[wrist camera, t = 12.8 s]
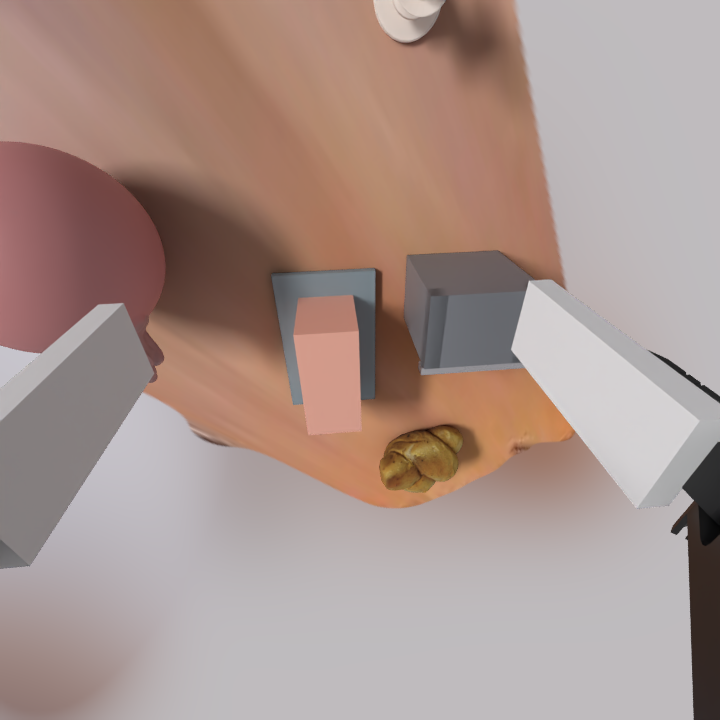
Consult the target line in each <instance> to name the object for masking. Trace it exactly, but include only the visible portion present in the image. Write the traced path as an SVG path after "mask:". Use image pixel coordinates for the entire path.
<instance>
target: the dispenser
mask: <svg viewBox="0 0 720 720" xmlns="http://www.w3.org/2000/svg"><path fill="white" fill-rule="evenodd" d="M533 280H534V279H533V278H532V277H531V276H529V275H528V274H527V273H526V272H524V271H523V270H522V269H521V268H519V267H518V266H517V265H516V264H514V263H513V262H512V261H511V260H509V259H508V258H507V257H505V256H504V255H503V254H502V253H500V252H499V251H479V252H459V253H439V254H419V255H407V264H406V283H405V301H404V320H405V322H406V325H407V327H408V330H409V332H410V335H411V337H412V340H413V343H414V345H415V348H416V350H417V353H418V355H419V358H420V360H421V361H419V365H418V369H419V371H420V374H421V375H431V374H445V373H459V372H474V371H488V370H503V369H517V368H525V367H524V365H523V364H522V363H521V362H520V360H519V359H518V358H517V357H516V355H515V354H514V353H513V352H512V350H511V348H512V344H513V340H514V336H515V333H516V329H517V325H518V321H519V317H520V313H521V310H522V306H523V302H524V298H525V294H526V290H527V287H528V283H529V281H533Z"/></svg>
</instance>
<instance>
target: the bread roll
mask: <svg viewBox="0 0 720 720" xmlns="http://www.w3.org/2000/svg"><path fill="white" fill-rule="evenodd" d="M462 444H463V437H462V435H461V434H460V432H459V431H458V430H457V429H455V428H453V427H449V426H437V427H434V428H431V429H429V430H427V431H413V432H409V433H406V434H402V435H400V436H399V437H397V438H396V439H394V440H393V441H391V442H390V443H389V444H388V446H387V448H386V450H385V452H384V457H383V458H382V459H381V461H380V466H379V469H380V475H381V480H382V482H383V484H384V485H385V487H386V488H387V489H389V490H401V489H403V490H405V491H408V492H415V493H418V492H422V493H425V492H426V491H428V490H429V489H430V488H431V487H432V486H433V485H434V483H435V482H436V481H439V482H445V481H447V480H449V479H450V478H451V477H453V476H454V475H455V473H456V471H457V469H458V458H457V455H456V454H457V453H458V452H459V450H460V449H461V447H462Z"/></svg>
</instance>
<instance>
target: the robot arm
mask: <svg viewBox="0 0 720 720" xmlns="http://www.w3.org/2000/svg"><path fill="white" fill-rule="evenodd" d="M511 350H512V352H513V353H514V354H515V355H516V357H517V358H518V359H519V360H520V362H521V363H522V364H523V365H524V367H525V368H526V369H527V370H528V372H529V373H530V374H531V376H532V377H533V378H534V379H535V381H536V382H537V383H538V384H539V386H540V387H541V388H542V389H543V391H544V392H545V393H546V395H547V396H548V397H549V398H550V400H551V401H552V402H553V403H554V405H555V406H556V407H557V408H558V410H559V411H560V412H561V414H562V415H563V416H564V417H565V419H566V420H567V421H568V422H569V424H570V425H571V426H572V427H573V429H574V430H575V431H576V432H577V434H578V435H579V436H580V438H581V439H582V440H583V441H584V443H585V444H586V445H587V446H588V448H589V449H590V450H591V451H592V453H593V454H594V455H595V457H596V458H597V459H598V460H599V462H600V463H601V464H602V465H603V467H604V468H605V469H606V470H607V472H608V473H609V474H610V476H611V477H612V478H613V479H614V481H615V482H616V483H617V484H618V486H619V487H620V488H621V489H622V491H623V492H624V493H625V494H626V496H627V497H628V498H629V500H630V501H631V502H632V503H633V505H634V506H635V507H636V508H637V509H640V508H650V507H661V506H669V505H670V504H671V502H672V501H673V500H674V499H675V497H676V496H677V495H678V494H679V492H680V491H681V490H682V489H684V490H685V491H686V492H687V493H688V495H689V496H690V497H691V498H692V499H693V500H694V502H693V503H692V504H691V505H690V506H689V507H688V509H687V510H686V511H685V512H684V513H683V515H682V516H681V517H680V518H679V519H678V520H677V521H676V523H675V524H674V525H673V527H672V530H671V533H673V534H676V535H677V534H678V533H679V532H680V530H681V529H682V528H683V527H685V526H688V536H687V537H686V539H687V540H688V556H689V587H690V617H691V648H692V679H693V708H694V720H720V396H718V395H717V394H716V393H714V392H713V391H712V390H710V389H709V388H707V387H706V386H705V385H702V386H701V384H700V382H699V381H698V380H696V379H695V378H693V377H692V376H691V375H686V372H685V371H684V370H682V369H681V368H680V367H678V366H677V365H675V364H674V363H672V362H671V361H670V360H668V359H666V358H664V357H662V356H660V355H657V354H655V353H653V352H651V351H649V350H647V349H645V348H644V347H642V346H641V345H640V344H638V343H637V342H636V341H634V340H633V339H631V338H630V337H629V336H627V335H626V334H625V333H623V332H622V331H621V330H619V329H618V328H617V327H615V326H614V325H612V324H611V323H610V322H608V321H607V320H606V319H604V318H603V317H601V316H600V315H599V314H597V313H596V312H595V311H593V310H592V309H591V308H589V307H588V306H587V305H585V304H584V303H583V302H581V301H580V300H578V299H577V298H576V297H574V296H573V295H572V294H570V293H569V292H568V291H566V290H565V289H563V288H562V287H561V286H559V285H558V284H557V283H555V282H554V281H553V280H533V281H529V283H528V287H527V290H526V294H525V298H524V302H523V306H522V310H521V313H520V317H519V321H518V325H517V329H516V333H515V336H514V340H513V344H512V348H511ZM153 375H154V371H153V369H152V367H151V365H150V362H149V360H148V358H147V355H146V353H145V351H144V349H143V346H142V344H141V342H140V339H139V337H138V335H137V332H136V330H135V328H134V326H133V323H132V321H131V319H130V316H129V314H128V312H127V310H126V307H125V305H124V303H117V304H99V305H97V306H96V307H95V308H94V309H93V310H91V311H90V312H89V313H88V314H87V315H86V316H84V317H83V318H82V319H81V320H80V321H79V322H77V323H76V324H75V325H74V326H73V327H72V328H70V329H69V330H68V331H67V332H66V333H65V334H63V335H62V336H61V337H60V338H59V339H58V340H56V341H55V342H54V343H53V344H52V345H51V346H49V347H48V348H47V349H46V350H45V351H44V352H42V353H41V354H40V355H39V356H38V357H37V358H35V359H34V360H33V361H32V362H31V363H30V364H28V365H27V366H26V367H25V368H24V369H23V370H21V371H20V372H19V373H18V374H17V375H16V376H14V377H13V378H12V379H11V380H10V381H9V382H7V383H6V384H5V385H4V386H3V387H2V388H0V569H3V568H13V567H24V566H30V565H31V564H32V562H33V561H34V559H35V558H36V556H37V554H38V553H39V551H40V550H41V548H42V547H43V545H44V543H45V542H46V540H47V539H48V537H49V536H50V534H51V533H52V531H53V529H54V528H55V527H56V525H57V523H58V522H59V520H60V519H61V517H62V516H63V514H64V512H65V511H66V510H67V508H68V506H69V505H70V503H71V502H72V500H73V499H74V497H75V496H76V494H77V492H78V491H79V489H80V488H81V486H82V485H83V483H84V482H85V480H86V478H87V477H88V475H89V474H90V472H91V471H92V469H93V468H94V466H95V465H96V463H97V461H98V460H99V458H100V457H101V455H102V454H103V452H104V451H105V449H106V448H107V446H108V444H109V443H110V441H111V440H112V438H113V437H114V435H115V434H116V432H117V430H118V429H119V427H120V426H121V424H122V422H123V421H124V420H125V418H126V417H127V415H128V413H129V412H130V410H131V409H132V407H133V406H134V404H135V402H136V401H137V399H138V398H139V396H140V395H141V393H142V392H143V390H144V389H145V387H146V386H147V384H148V382H149V381H150V379H151V378H152V376H153Z"/></svg>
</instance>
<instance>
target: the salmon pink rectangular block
mask: <svg viewBox="0 0 720 720" xmlns="http://www.w3.org/2000/svg"><path fill="white" fill-rule="evenodd" d="M293 337H294V343H295V350H296V357H297V364H298V370H299V377H300V384H301V390H302V397H303V404H304V410H305V417H306V424H307V430H308V435H316V434H329V433H342V432H355V431H362V428H361V392H360V357H359V329H358V323H357V317H356V311H355V305H354V299H353V295H342V296H324V297H306V298H298V304H297V311H296V319H295V326H294V334H293Z"/></svg>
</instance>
